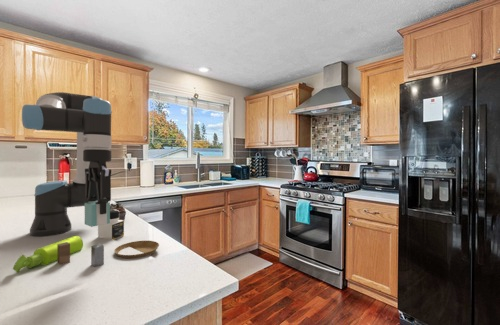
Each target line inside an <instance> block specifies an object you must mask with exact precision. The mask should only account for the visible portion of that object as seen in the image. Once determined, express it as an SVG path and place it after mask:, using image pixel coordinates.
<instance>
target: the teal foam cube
mask: <svg viewBox="0 0 500 325" xmlns="http://www.w3.org/2000/svg"><path fill="white" fill-rule="evenodd" d="M95 203H96V202H89V203H85V206H84V225H86V226H89V227H91V228H93V227H98V226H99V225H98V226H97V225H96V204H95ZM110 204H111V201H109V202H108V203H107V224H109V223H110ZM103 225H104V224H103Z"/></svg>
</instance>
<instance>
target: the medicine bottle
mask: <svg viewBox="0 0 500 325" xmlns="http://www.w3.org/2000/svg"><path fill="white" fill-rule="evenodd" d="M118 219H119V211H118V210H110V223H109V224H104V225H99V226H97V238H99V239H100V238H101V239H112V240H113V241H115V240H116V239H120V238H122V237H125V220H118Z"/></svg>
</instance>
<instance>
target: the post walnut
mask: <svg viewBox="0 0 500 325" xmlns="http://www.w3.org/2000/svg"><path fill="white" fill-rule="evenodd" d="M56 261H57V263H56V264H58V265H59V266H62V265H66V264H68V263H71V254H70V243H68V242H65V243H61V244H57V260H56Z"/></svg>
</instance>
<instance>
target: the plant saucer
mask: <svg viewBox="0 0 500 325" xmlns="http://www.w3.org/2000/svg"><path fill="white" fill-rule="evenodd" d="M159 246H160V244H159V242H157V241H154V240H136V241H131V242H127V243H123V244H121V245H119V246H117V247H116V248H115V249H114V253H115V254H116V255H117V256H118V257H120V258H125V259H135V258H141V257H142V258H143V257H144V256H145V257H146V256H151V255H153V254H154V253H155V252H156V251H157V250H158V248H159ZM126 248H131V249H132V250H136V251H139V252H140V253H137V254H120V253H119V252H121V251H122V250H124V249H126Z"/></svg>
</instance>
